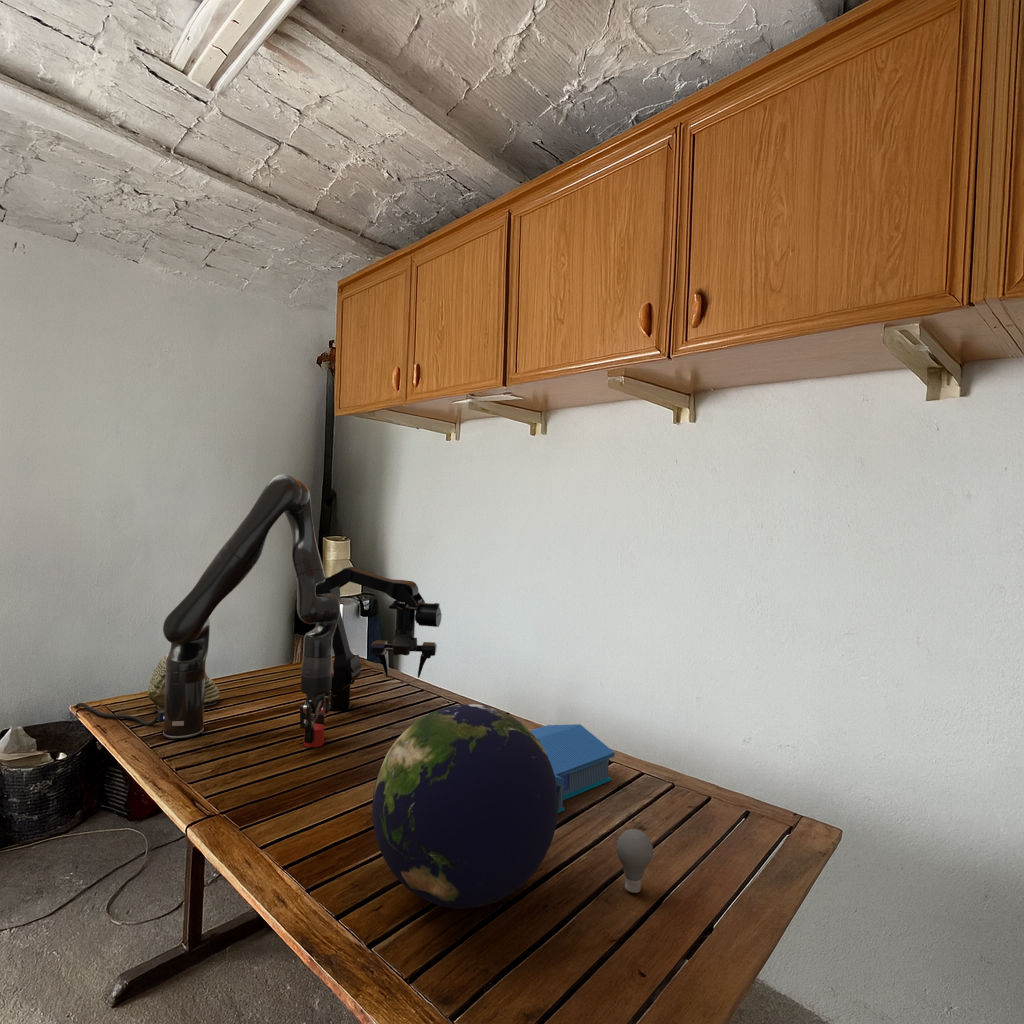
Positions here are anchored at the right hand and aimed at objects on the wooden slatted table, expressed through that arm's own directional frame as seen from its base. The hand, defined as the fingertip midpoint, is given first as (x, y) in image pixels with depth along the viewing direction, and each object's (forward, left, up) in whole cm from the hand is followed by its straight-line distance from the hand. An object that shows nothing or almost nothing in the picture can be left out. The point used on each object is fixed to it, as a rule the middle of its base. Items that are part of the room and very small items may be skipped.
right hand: (402, 677), depth 187 cm
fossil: (-1, -63, -11) cm, 64 cm away
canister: (+24, -19, -11) cm, 33 cm away
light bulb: (+83, +50, -11) cm, 98 cm away
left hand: (+24, -19, -9) cm, 32 cm away
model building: (+47, +34, -11) cm, 59 cm away
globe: (+84, +21, -11) cm, 88 cm away
